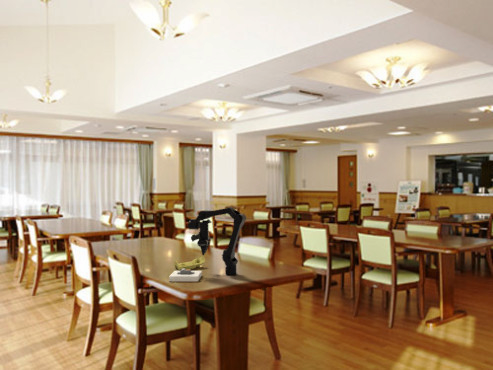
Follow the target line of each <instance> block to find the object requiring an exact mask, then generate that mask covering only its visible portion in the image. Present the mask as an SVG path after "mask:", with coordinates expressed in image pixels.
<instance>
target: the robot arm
mask: <svg viewBox="0 0 493 370" xmlns="http://www.w3.org/2000/svg"><path fill="white" fill-rule="evenodd" d="M226 214H227V215H229V216H230V218H232V219H233V229H232V232H231V235H230V239H229V242H228V246H227V248H226V249H223V252H222V254H221V258H222V261H223V262H224V265H225V269H224V270H225V275H226V276H237V275H238V272H237V265H238V262H239V260H238V258H236V256H235V255H236V245H237V243H238V239H239V236H240V232H241V229H242V228H243V226H244V224H245V222H246V220H247V216H246V214H245V213H242V212H240V211H238V210H237V209H235V208H234V207H232V206H228V207H226V208H220V209H214V210H210V209H209V210H206V209H205V210H201V211H199V212H198V214H197V217H196V218H195V219H194V218H190V219H189V222H188V224H187V227H188V229H189V230H196V231H197V230H199V232H198V233H196V234H192V235H191V236H190V240H191V241H192V242H195V241H197V242H196V244H197V246H198V247H199V248H200V252H201V256H205V254H206V253H207V251H208V248H209V246H210V243H211V237H210V235H209V233H210V231H209V230H210V229H209V224H212V221H211V220H210V218H212V217H216V216H222V215H226Z"/></svg>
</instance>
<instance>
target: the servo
mask: <svg viewBox="0 0 493 370" xmlns="http://www.w3.org/2000/svg"><path fill="white" fill-rule="evenodd" d="M179 271H180V272H178V273H177V274H194V273H195V272H191V271H192V269H187V270H185V269H182V270H179Z"/></svg>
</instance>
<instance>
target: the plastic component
mask: <svg viewBox="0 0 493 370" xmlns="http://www.w3.org/2000/svg"><path fill="white" fill-rule="evenodd" d="M205 262H206V259H205V257H204V255H201V256H200V257H197V258H195V259H193V260H191V261H186V262H181V263H178V261H177V260H174V265H173V266H174V268H176V269H177V271H181V270H182V269H185V270H187V269H191V270H194V269H196V268H197V269H199V268H200V267H201V266H202V265H204V264H205Z"/></svg>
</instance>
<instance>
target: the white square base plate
mask: <svg viewBox="0 0 493 370" xmlns="http://www.w3.org/2000/svg"><path fill="white" fill-rule="evenodd" d="M180 271H181V270H174V271H173V272H172V273H171V274H170V275H169V276H168V282H199V280H200V279H201V277H202V276H203V275H202V274H203V273H202V270H191V272H195V273H194V274H177V273H178V272H180Z"/></svg>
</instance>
